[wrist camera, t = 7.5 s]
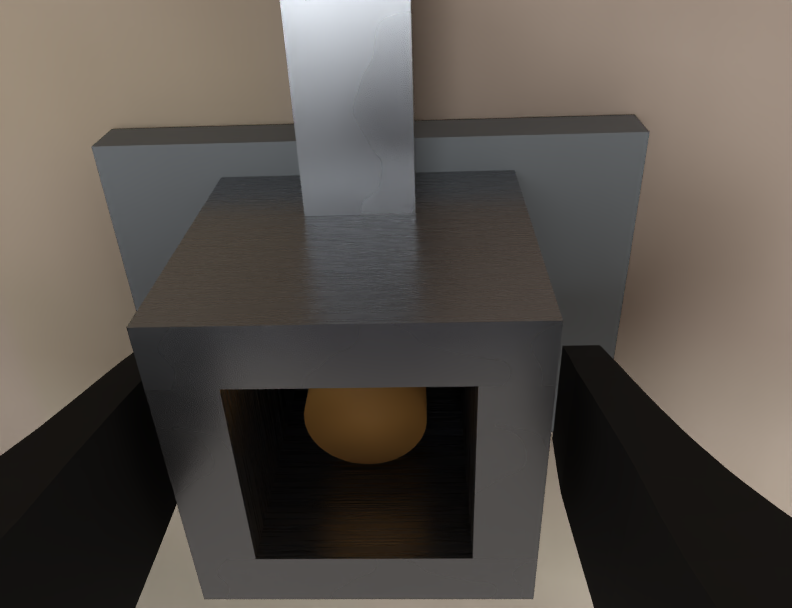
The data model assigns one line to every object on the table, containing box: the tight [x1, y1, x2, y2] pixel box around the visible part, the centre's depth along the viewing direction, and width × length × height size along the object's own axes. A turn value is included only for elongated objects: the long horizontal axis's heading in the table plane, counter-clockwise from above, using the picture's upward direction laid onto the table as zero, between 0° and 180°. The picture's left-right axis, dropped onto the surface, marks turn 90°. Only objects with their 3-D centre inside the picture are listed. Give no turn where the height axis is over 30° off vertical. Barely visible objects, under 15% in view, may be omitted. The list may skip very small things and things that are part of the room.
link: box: [127, 0, 563, 599], centre depth 11 cm, size 5×9×5 cm, turn 2°
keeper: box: [92, 115, 649, 464], centre depth 13 cm, size 10×7×4 cm
